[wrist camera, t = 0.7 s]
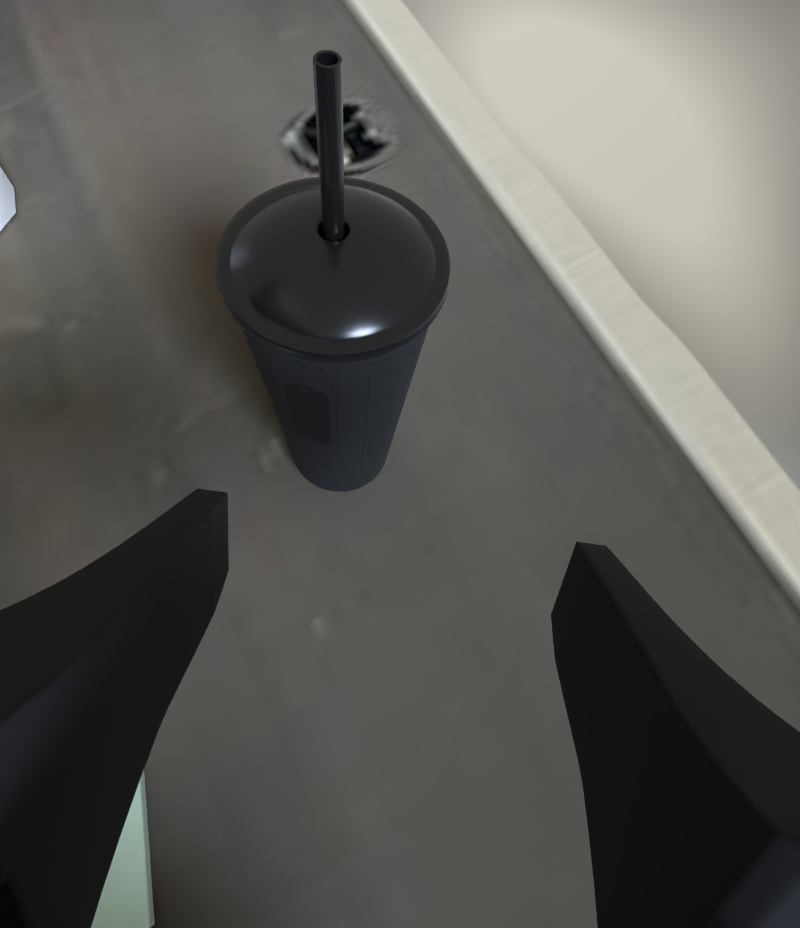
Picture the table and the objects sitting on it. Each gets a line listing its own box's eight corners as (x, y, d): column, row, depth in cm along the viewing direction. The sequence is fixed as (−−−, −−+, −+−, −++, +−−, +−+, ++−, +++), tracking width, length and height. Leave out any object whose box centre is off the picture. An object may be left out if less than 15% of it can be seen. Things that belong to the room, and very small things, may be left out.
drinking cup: (439, 483, 32) (550, 122, 14) (300, 541, 30) (222, 212, 12) (377, 368, 35) (402, -54, 17) (245, 416, 33) (117, -2, 15)
